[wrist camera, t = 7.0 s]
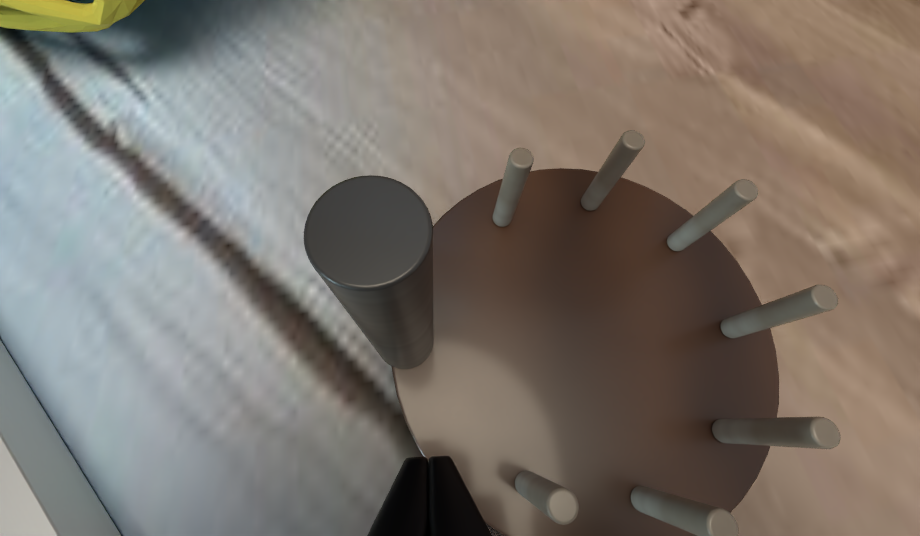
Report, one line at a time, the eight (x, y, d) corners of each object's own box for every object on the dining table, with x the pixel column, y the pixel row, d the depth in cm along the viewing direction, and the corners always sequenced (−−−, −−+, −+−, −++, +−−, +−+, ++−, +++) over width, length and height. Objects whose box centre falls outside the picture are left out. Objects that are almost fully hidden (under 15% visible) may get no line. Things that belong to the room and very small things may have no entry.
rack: (698, 186, 18) (967, -58, 9) (797, 534, 14) (1533, 754, 5) (385, 190, 17) (329, -77, 8) (379, 566, 13) (240, 924, 4)
